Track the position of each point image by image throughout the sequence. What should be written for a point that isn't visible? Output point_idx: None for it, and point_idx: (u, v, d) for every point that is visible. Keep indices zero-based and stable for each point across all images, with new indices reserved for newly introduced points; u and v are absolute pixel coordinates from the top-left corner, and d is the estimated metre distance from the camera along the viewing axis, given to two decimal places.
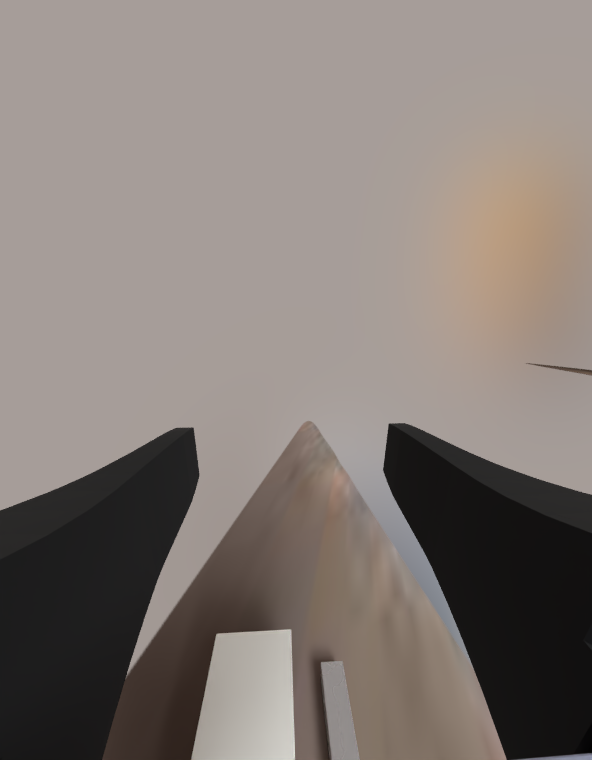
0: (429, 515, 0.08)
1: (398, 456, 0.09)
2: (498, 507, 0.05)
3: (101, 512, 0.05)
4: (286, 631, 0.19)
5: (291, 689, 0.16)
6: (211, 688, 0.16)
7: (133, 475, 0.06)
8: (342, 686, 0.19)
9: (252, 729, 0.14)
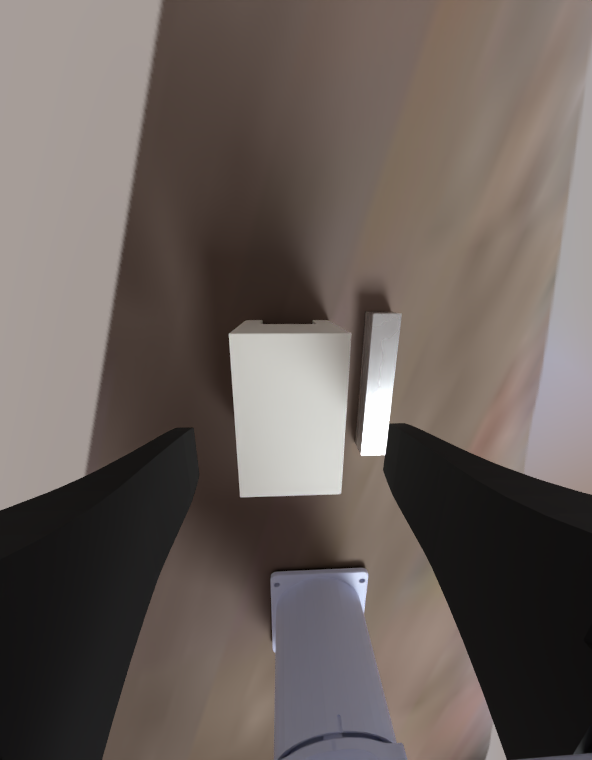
0: (429, 515, 0.08)
1: (398, 456, 0.09)
2: (498, 507, 0.05)
3: (101, 512, 0.05)
4: (343, 335, 0.11)
5: (345, 402, 0.12)
6: (241, 398, 0.12)
7: (133, 475, 0.06)
8: (393, 339, 0.16)
9: (298, 432, 0.13)
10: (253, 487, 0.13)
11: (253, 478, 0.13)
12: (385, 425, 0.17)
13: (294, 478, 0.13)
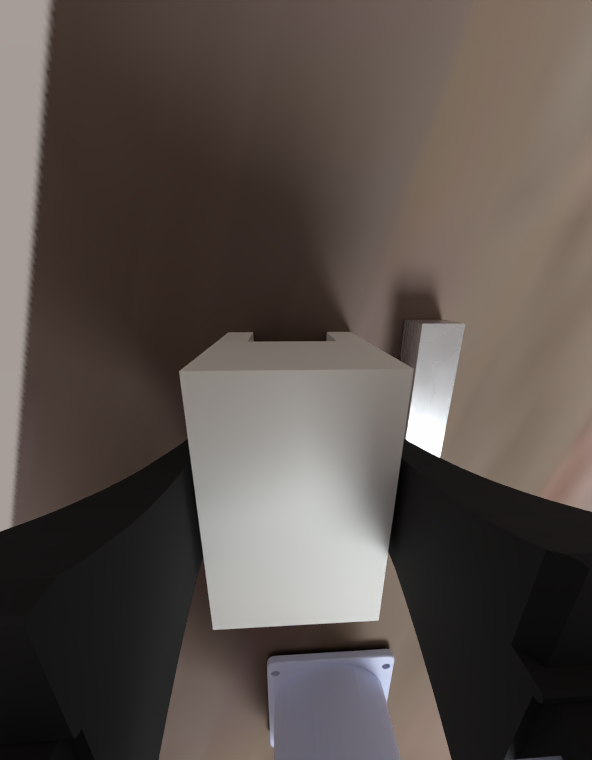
0: (393, 516, 0.08)
1: None
2: (445, 509, 0.05)
3: (158, 510, 0.05)
4: (398, 372, 0.06)
5: (393, 485, 0.07)
6: (208, 482, 0.07)
7: (179, 474, 0.06)
8: (450, 362, 0.10)
9: (310, 534, 0.07)
10: (234, 615, 0.08)
11: (234, 603, 0.08)
12: None
13: (302, 600, 0.08)
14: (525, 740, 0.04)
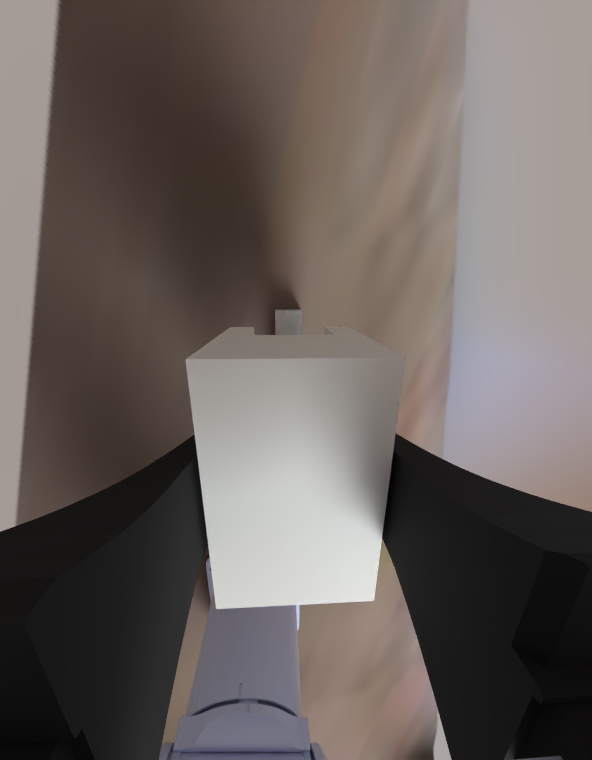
0: (393, 516, 0.08)
1: None
2: (445, 509, 0.05)
3: (158, 510, 0.05)
4: (391, 361, 0.06)
5: (387, 469, 0.07)
6: (212, 465, 0.07)
7: (180, 474, 0.06)
8: (296, 334, 0.17)
9: (309, 516, 0.08)
10: (236, 595, 0.08)
11: (236, 583, 0.08)
12: None
13: (301, 580, 0.08)
14: (524, 740, 0.04)
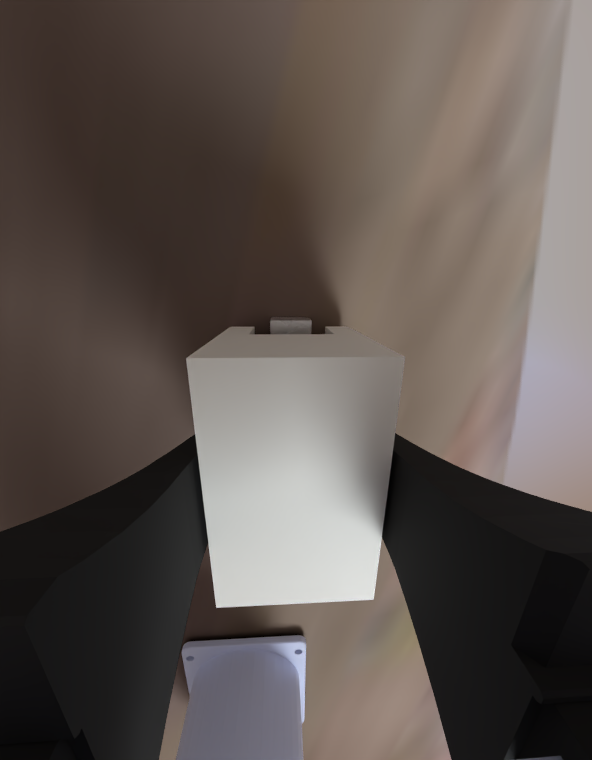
0: (393, 516, 0.08)
1: None
2: (445, 509, 0.05)
3: (158, 510, 0.05)
4: (391, 360, 0.06)
5: (387, 468, 0.07)
6: (212, 464, 0.07)
7: (179, 474, 0.06)
8: None
9: (309, 515, 0.08)
10: (236, 594, 0.08)
11: (236, 581, 0.08)
12: None
13: (301, 579, 0.08)
14: (524, 741, 0.04)
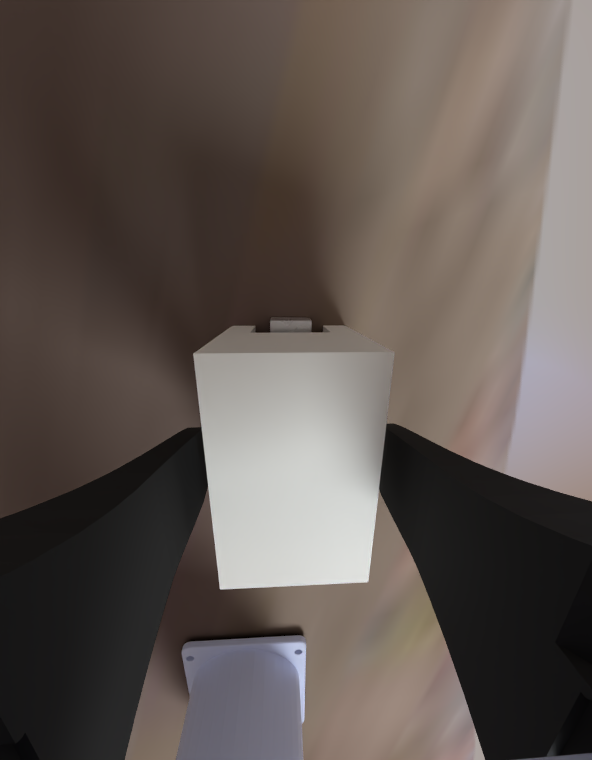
0: (415, 516, 0.08)
1: (386, 456, 0.09)
2: (478, 508, 0.05)
3: (124, 511, 0.05)
4: (381, 355, 0.07)
5: (379, 456, 0.08)
6: (217, 452, 0.08)
7: (152, 474, 0.06)
8: None
9: (307, 501, 0.08)
10: (239, 576, 0.09)
11: (239, 564, 0.09)
12: None
13: (299, 562, 0.09)
14: (568, 737, 0.04)
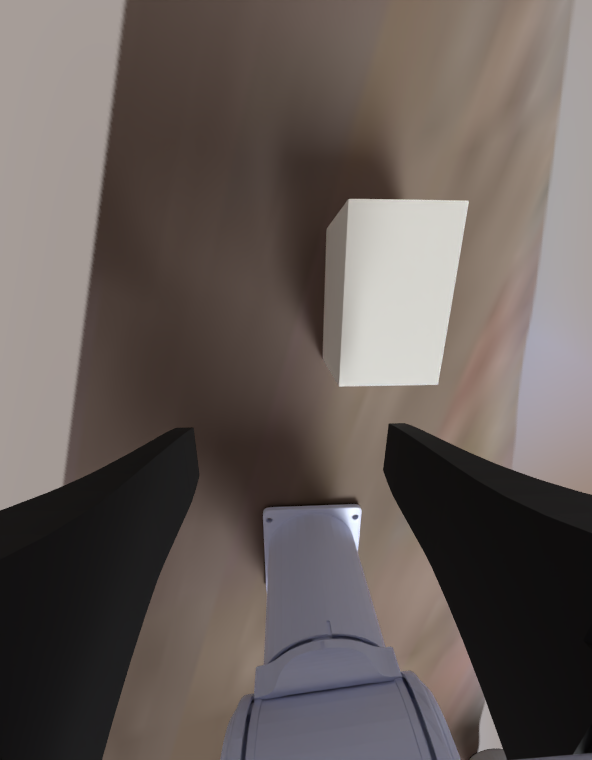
0: (429, 515, 0.08)
1: (398, 456, 0.09)
2: (498, 507, 0.05)
3: (101, 512, 0.05)
4: (460, 203, 0.11)
5: (453, 279, 0.12)
6: (352, 273, 0.12)
7: (133, 475, 0.06)
8: None
9: (404, 313, 0.13)
10: (353, 375, 0.13)
11: (354, 364, 0.13)
12: None
13: (394, 365, 0.13)
14: None
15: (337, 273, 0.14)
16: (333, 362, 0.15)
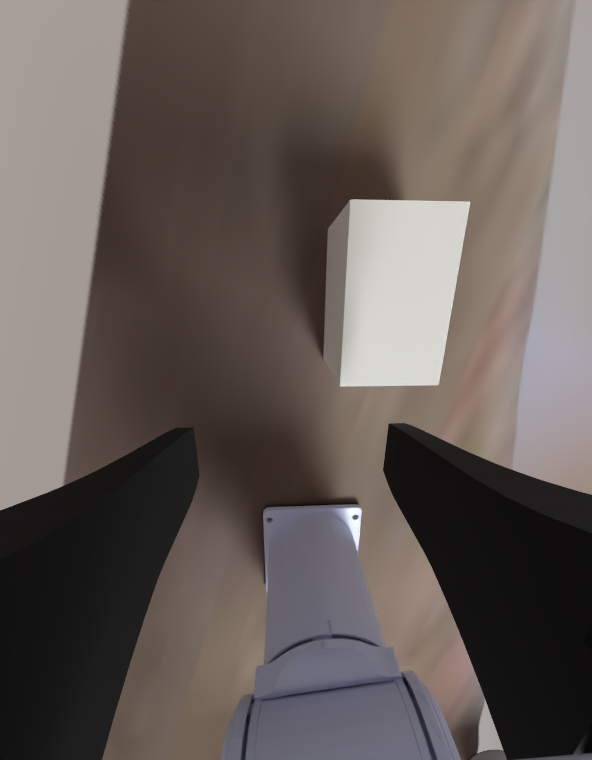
0: (429, 515, 0.08)
1: (398, 456, 0.09)
2: (497, 506, 0.05)
3: (101, 512, 0.05)
4: (462, 204, 0.11)
5: (454, 280, 0.12)
6: (353, 273, 0.12)
7: (133, 475, 0.06)
8: None
9: (405, 314, 0.13)
10: (354, 375, 0.13)
11: (355, 365, 0.13)
12: None
13: (395, 365, 0.13)
14: None
15: (338, 273, 0.14)
16: (334, 362, 0.15)
